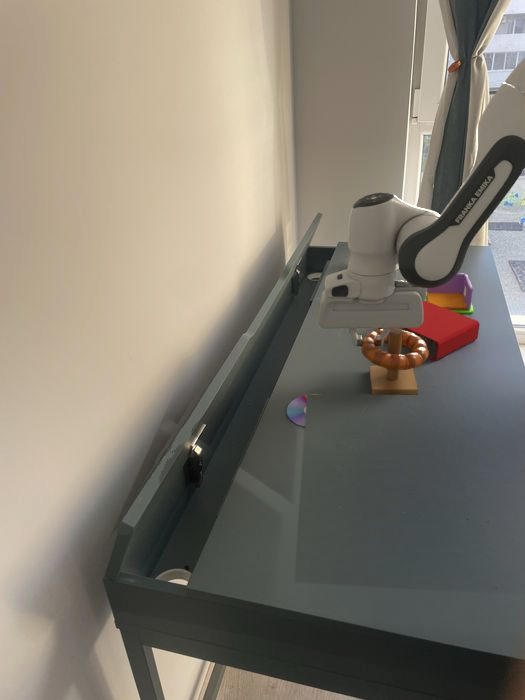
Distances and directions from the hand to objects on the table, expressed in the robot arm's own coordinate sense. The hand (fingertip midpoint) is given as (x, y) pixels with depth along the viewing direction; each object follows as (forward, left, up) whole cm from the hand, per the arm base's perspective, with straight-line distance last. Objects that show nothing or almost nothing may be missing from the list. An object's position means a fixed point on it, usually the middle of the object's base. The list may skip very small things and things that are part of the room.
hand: (368, 345), depth 107 cm
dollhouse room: (-23, -38, -9) cm, 45 cm away
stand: (-5, 0, -9) cm, 11 cm away
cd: (+11, +10, -9) cm, 17 cm away
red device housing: (-15, -20, -9) cm, 27 cm away
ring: (-5, 0, -1) cm, 5 cm away
